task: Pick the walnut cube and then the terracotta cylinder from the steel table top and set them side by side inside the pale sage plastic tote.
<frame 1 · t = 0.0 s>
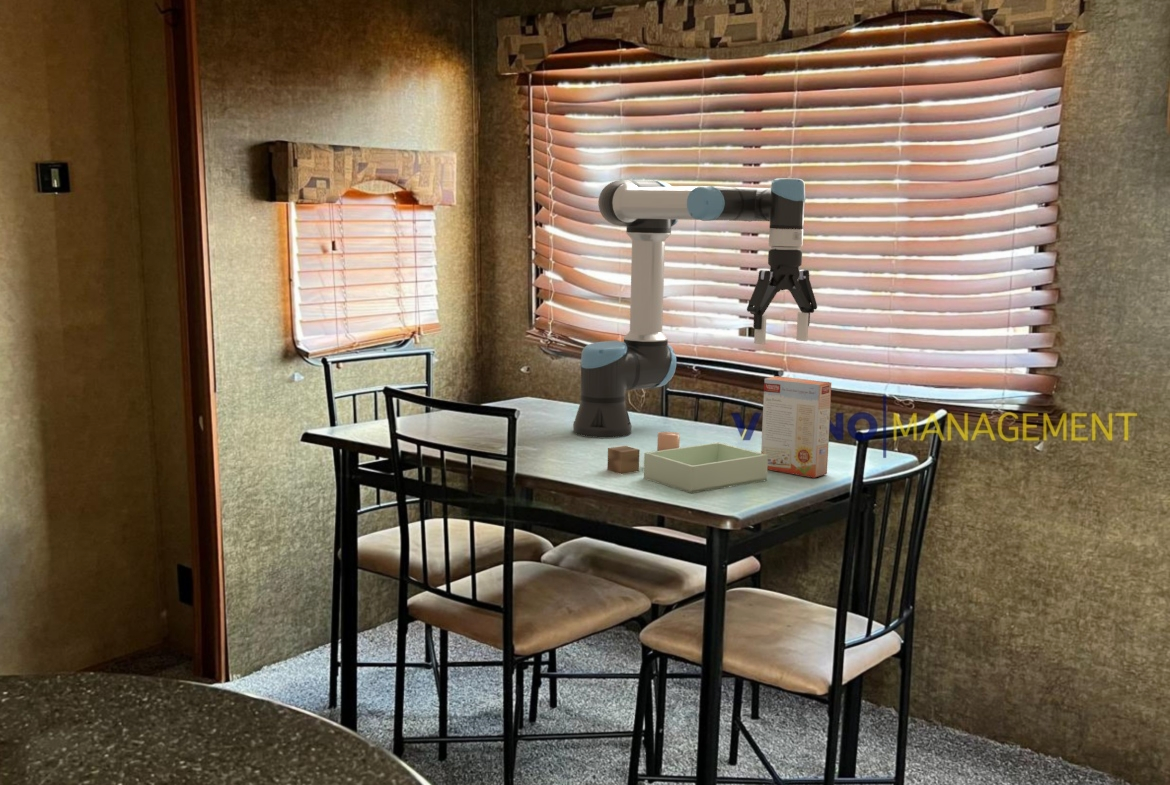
hand: (781, 342, 255), 28 cm above the table, fingers open, 13 cm apart
sage tote: (705, 479, 242), on the table
cracker box: (793, 472, 251), on the table
terracotta cylinder: (667, 463, 256), on the table
walnut cube: (623, 470, 249), on the table
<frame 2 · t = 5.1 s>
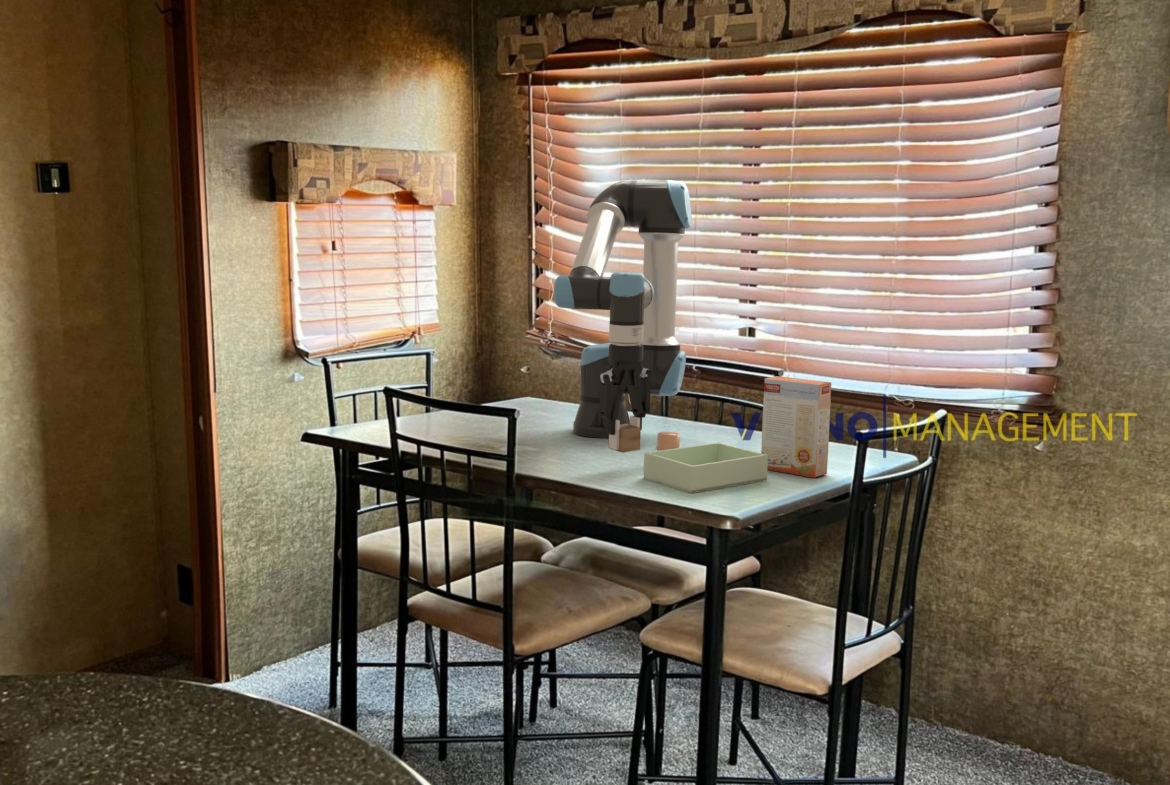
hand: (624, 446, 249), 5 cm above the table, fingers closed on walnut cube, 5 cm apart
walnut cube: (624, 448, 249), point 5 cm above the table, touching gripper
everything else where it was.
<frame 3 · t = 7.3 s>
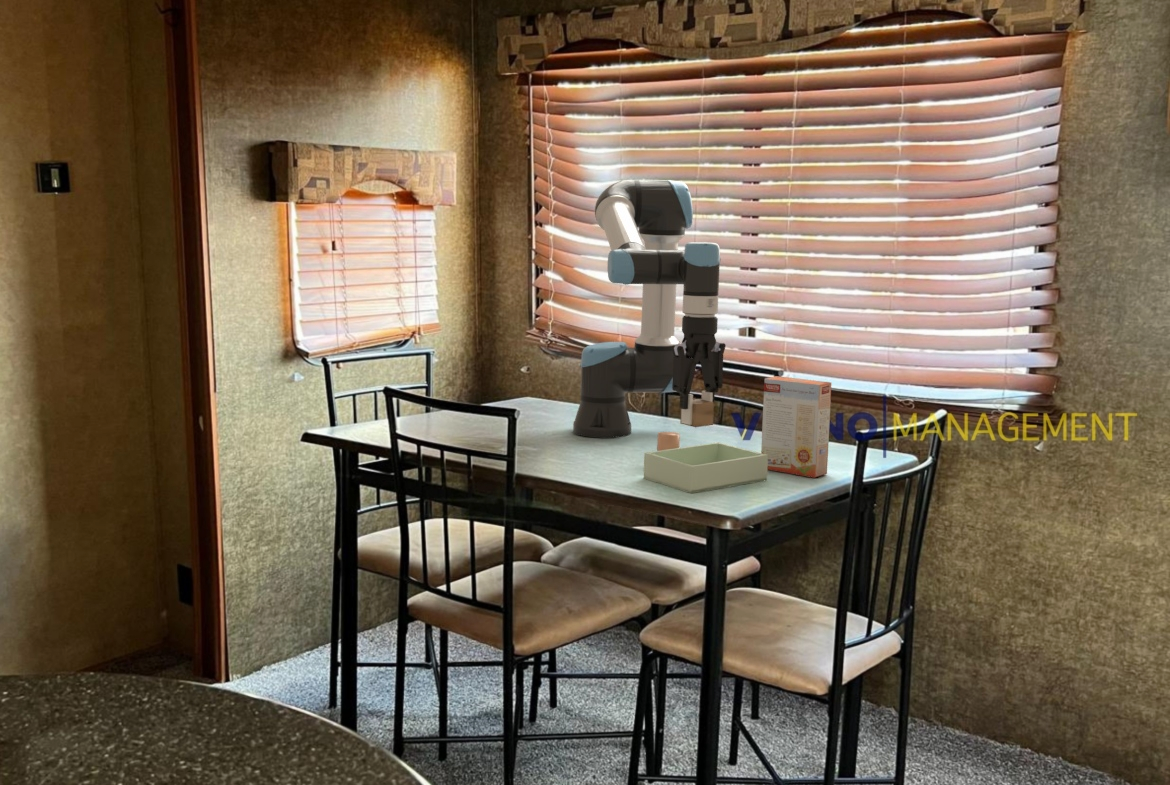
hand: (696, 422, 243), 12 cm above the table, fingers closed on walnut cube, 5 cm apart
walnut cube: (696, 424, 243), point 12 cm above the table, touching gripper
everything else where it was.
when the fingers open (1 cm above the table, at t = 9.4 s): walnut cube stays where it is, resting on sage tote.
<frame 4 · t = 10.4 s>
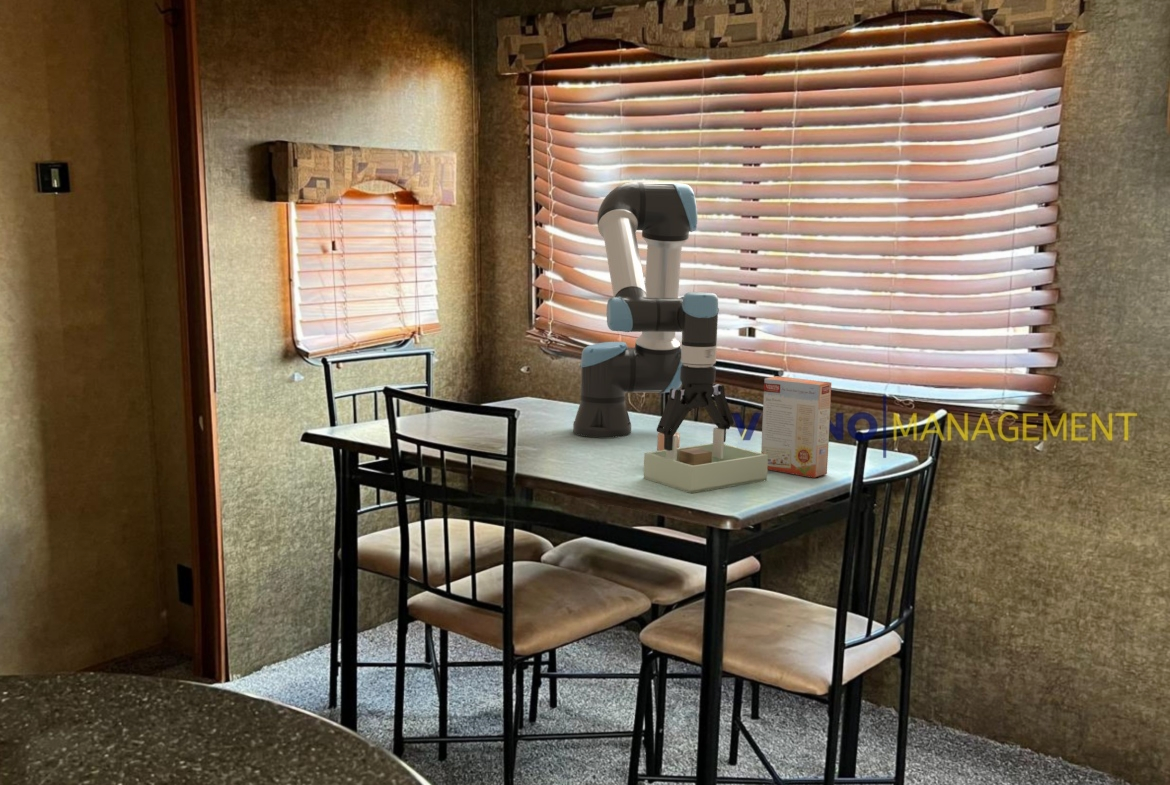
hand: (694, 461, 244), 3 cm above the table, fingers open, 13 cm apart
walnut cube: (694, 473, 244), point 1 cm above the table, touching sage tote
everything else where it was.
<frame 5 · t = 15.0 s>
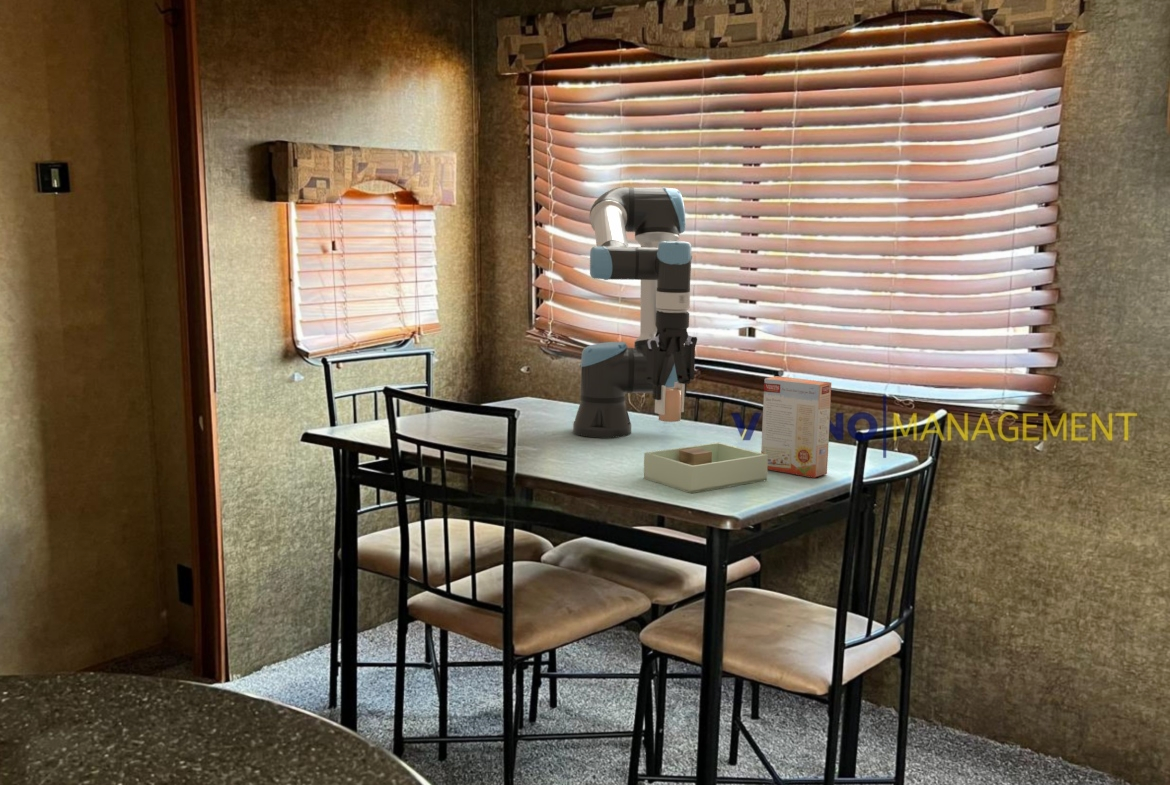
hand: (669, 412, 255), 12 cm above the table, fingers closed on terracotta cylinder, 5 cm apart
terracotta cylinder: (669, 419, 255), point 10 cm above the table, touching gripper
everything else where it was.
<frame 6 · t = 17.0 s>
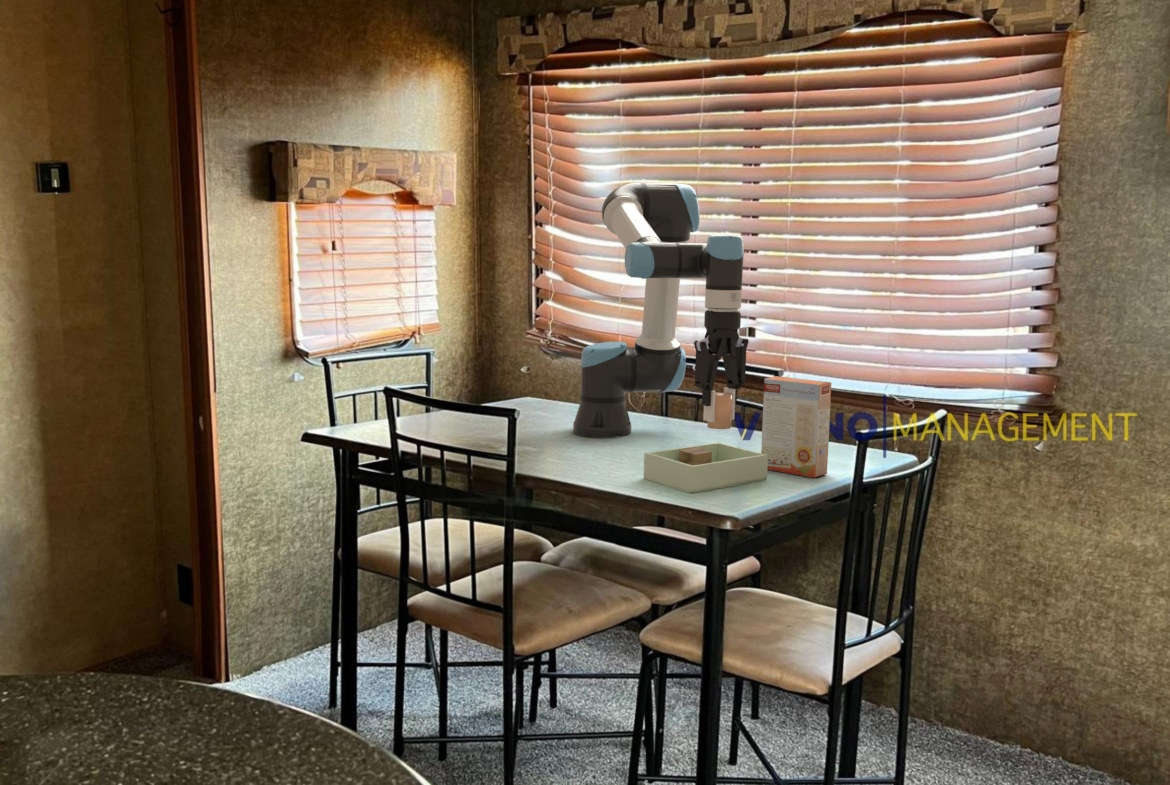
hand: (718, 419, 237), 14 cm above the table, fingers closed on terracotta cylinder, 5 cm apart
terracotta cylinder: (719, 427, 237), point 12 cm above the table, touching gripper
everything else where it was.
when the fingers open (1 cm above the table, at t = 19.4 s): terracotta cylinder stays where it is, resting on sage tote.
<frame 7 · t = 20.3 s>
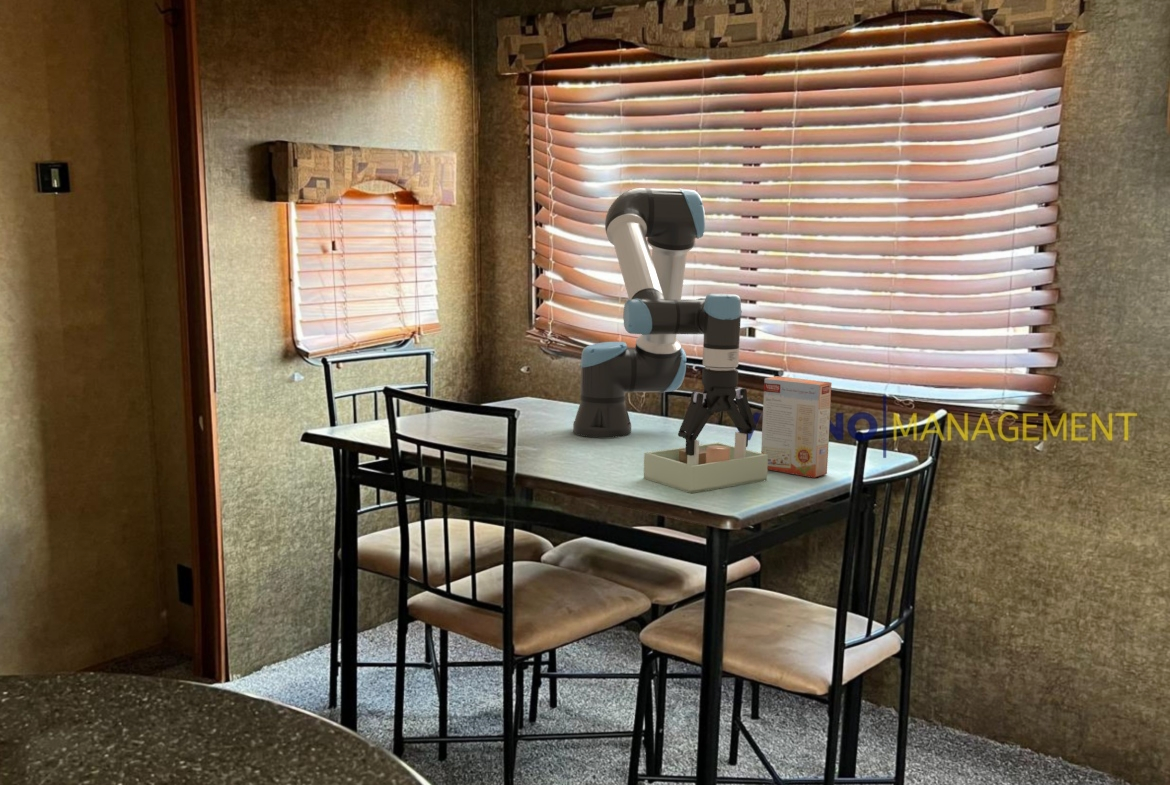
hand: (716, 466, 239), 3 cm above the table, fingers open, 13 cm apart
terracotta cylinder: (716, 480, 239), point 1 cm above the table, touching sage tote
everything else where it was.
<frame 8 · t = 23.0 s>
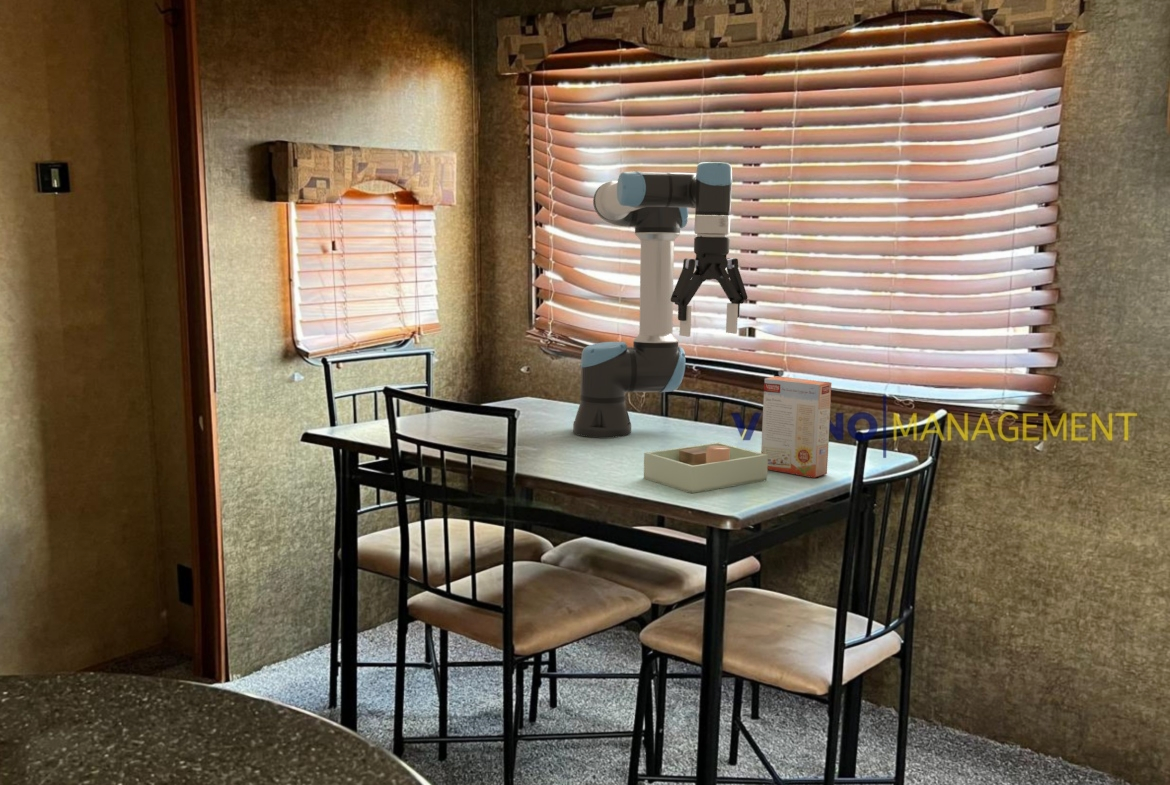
hand: (708, 334, 243), 31 cm above the table, fingers open, 13 cm apart
nothing on the table moved.
at the end: walnut cube inside the target area on the sage tote (3.4 cm from its centre), point 0.6 cm above the sage tote's base; terracotta cylinder inside the target area on the sage tote (3.7 cm from its centre), point 0.6 cm above the sage tote's base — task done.
